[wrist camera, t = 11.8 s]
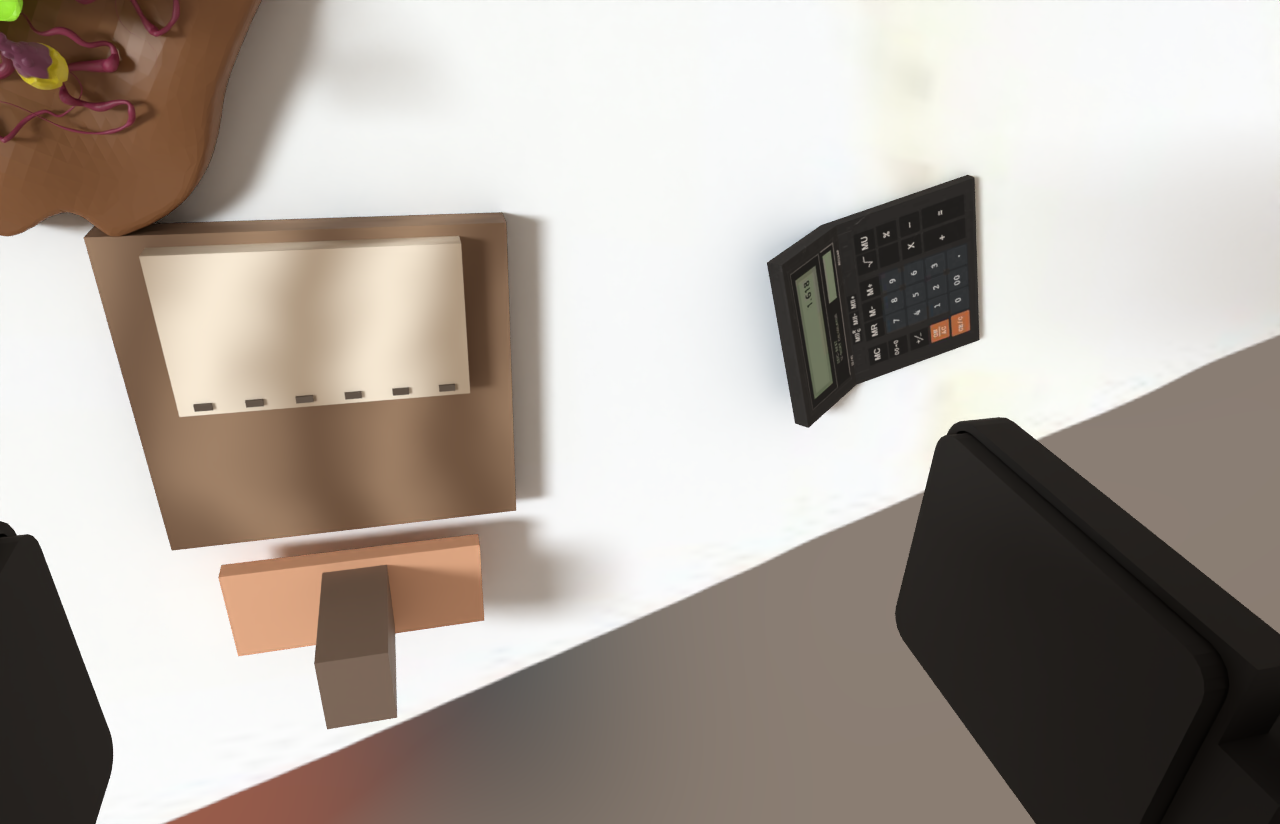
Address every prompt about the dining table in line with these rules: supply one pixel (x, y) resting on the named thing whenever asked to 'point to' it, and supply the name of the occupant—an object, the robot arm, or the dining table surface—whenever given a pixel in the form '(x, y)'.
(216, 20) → the plant
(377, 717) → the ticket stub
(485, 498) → the board
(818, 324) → the calculator
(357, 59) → the dining table surface
